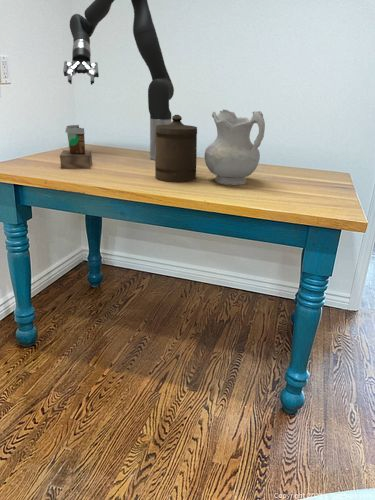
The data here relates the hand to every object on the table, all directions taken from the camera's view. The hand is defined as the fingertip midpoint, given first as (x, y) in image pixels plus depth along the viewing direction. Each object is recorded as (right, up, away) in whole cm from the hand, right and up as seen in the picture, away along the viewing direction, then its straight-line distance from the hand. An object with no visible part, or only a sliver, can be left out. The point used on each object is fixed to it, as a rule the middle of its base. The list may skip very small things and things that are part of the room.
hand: (81, 82), depth 172 cm
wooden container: (+40, -43, -20) cm, 62 cm away
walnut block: (0, -35, -6) cm, 36 cm away
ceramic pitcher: (+61, -45, -23) cm, 79 cm away
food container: (0, -31, -7) cm, 32 cm away
